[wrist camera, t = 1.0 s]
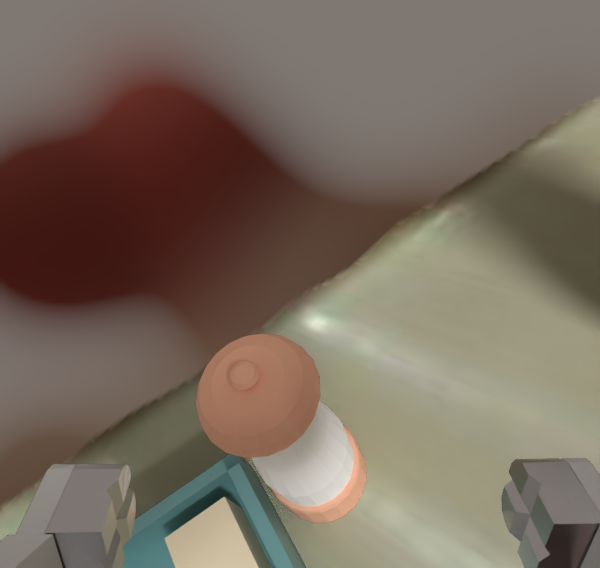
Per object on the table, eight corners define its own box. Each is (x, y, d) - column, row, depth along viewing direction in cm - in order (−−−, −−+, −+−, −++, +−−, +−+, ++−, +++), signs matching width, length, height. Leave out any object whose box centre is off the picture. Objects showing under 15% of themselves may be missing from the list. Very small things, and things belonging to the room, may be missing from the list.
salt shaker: (261, 499, 42) (148, 410, 27) (301, 416, 45) (219, 296, 30) (344, 540, 39) (268, 466, 24) (380, 448, 42) (334, 331, 27)
